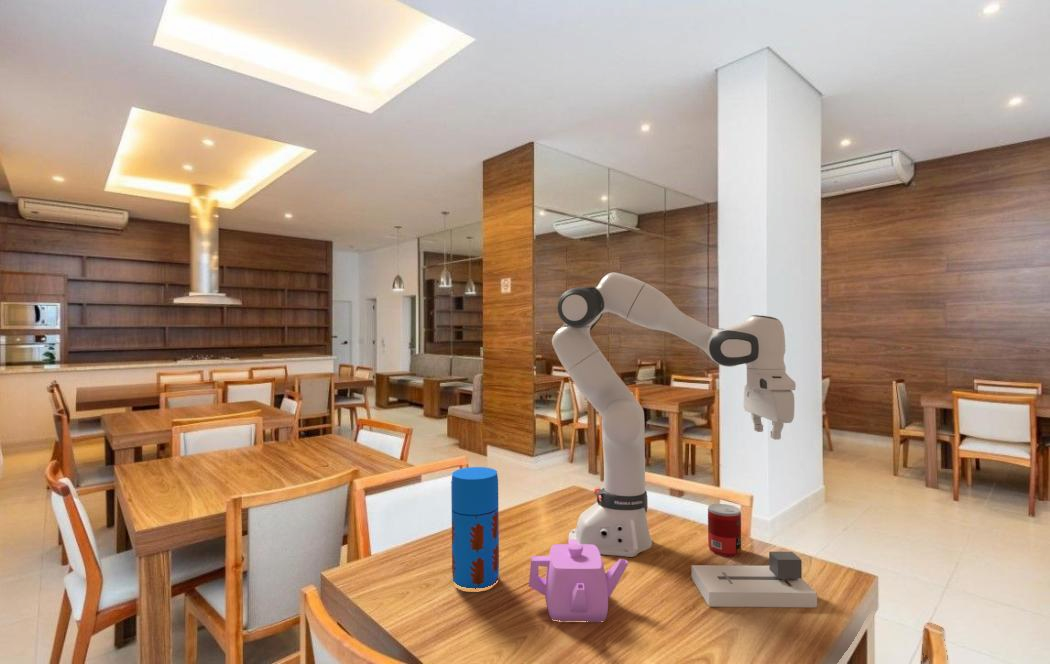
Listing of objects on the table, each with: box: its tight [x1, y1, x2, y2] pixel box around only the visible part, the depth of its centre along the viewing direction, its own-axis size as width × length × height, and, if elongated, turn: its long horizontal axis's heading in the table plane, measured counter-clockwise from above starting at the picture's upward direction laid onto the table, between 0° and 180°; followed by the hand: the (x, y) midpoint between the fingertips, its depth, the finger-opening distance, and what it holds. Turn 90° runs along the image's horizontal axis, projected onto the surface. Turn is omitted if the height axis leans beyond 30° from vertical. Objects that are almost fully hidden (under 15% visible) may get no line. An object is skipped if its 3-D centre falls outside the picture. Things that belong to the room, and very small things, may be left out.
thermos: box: [450, 466, 500, 589], centre depth 115 cm, size 11×11×25 cm
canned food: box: [707, 503, 742, 558], centre depth 130 cm, size 8×8×11 cm
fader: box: [768, 551, 803, 579], centre depth 108 cm, size 5×4×5 cm
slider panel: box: [691, 564, 818, 608], centre depth 109 cm, size 22×12×3 cm, turn 88°
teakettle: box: [528, 538, 629, 623], centre depth 104 cm, size 17×17×12 cm
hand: (766, 435), depth 124 cm, fingers open, 8 cm apart
